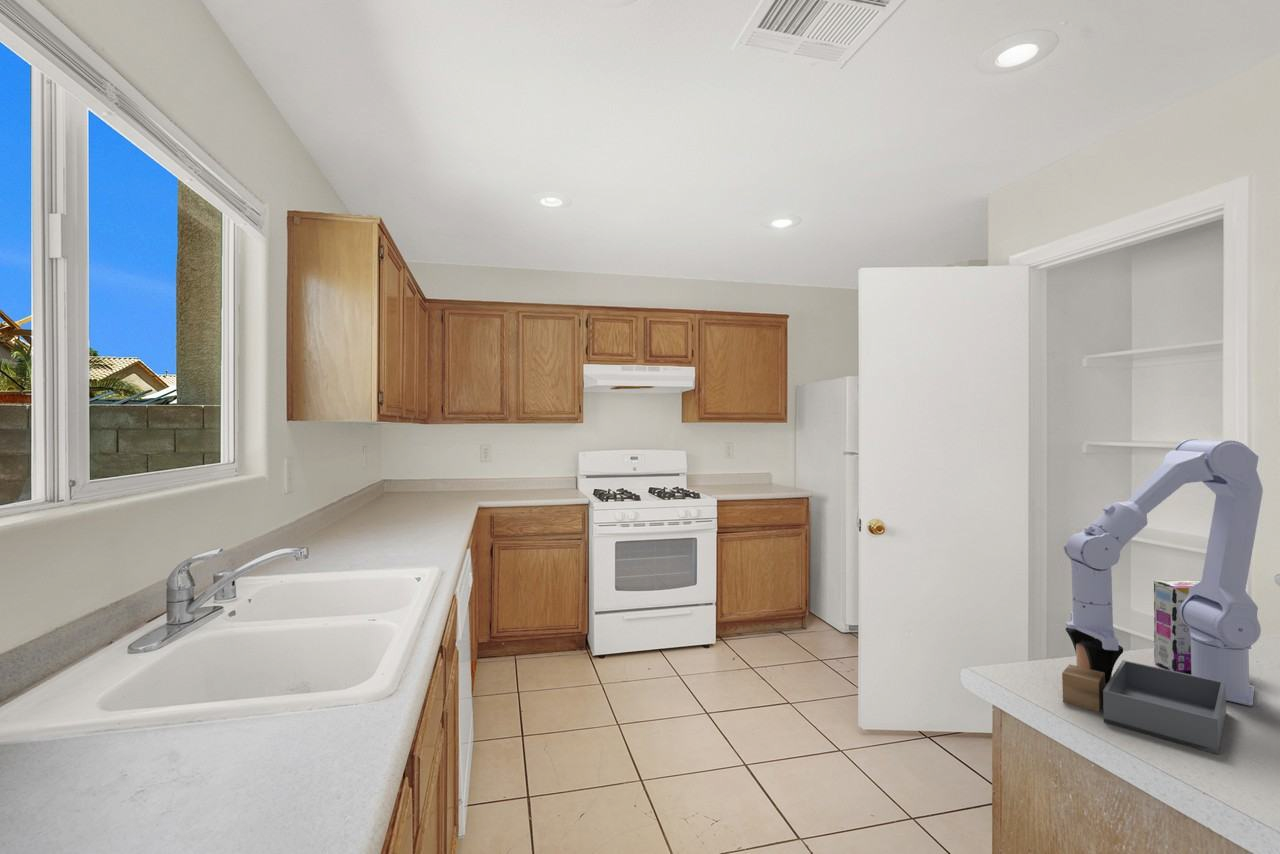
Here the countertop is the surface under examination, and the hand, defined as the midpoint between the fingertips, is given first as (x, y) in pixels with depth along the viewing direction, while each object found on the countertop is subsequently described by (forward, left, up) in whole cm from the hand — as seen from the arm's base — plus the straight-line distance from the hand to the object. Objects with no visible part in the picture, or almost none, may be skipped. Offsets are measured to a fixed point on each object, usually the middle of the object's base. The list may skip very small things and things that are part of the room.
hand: (1094, 675), depth 105 cm
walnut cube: (+8, 0, -2) cm, 8 cm away
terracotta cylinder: (0, 0, -2) cm, 2 cm away
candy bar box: (-22, +12, -2) cm, 25 cm away
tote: (+6, +10, -2) cm, 12 cm away
